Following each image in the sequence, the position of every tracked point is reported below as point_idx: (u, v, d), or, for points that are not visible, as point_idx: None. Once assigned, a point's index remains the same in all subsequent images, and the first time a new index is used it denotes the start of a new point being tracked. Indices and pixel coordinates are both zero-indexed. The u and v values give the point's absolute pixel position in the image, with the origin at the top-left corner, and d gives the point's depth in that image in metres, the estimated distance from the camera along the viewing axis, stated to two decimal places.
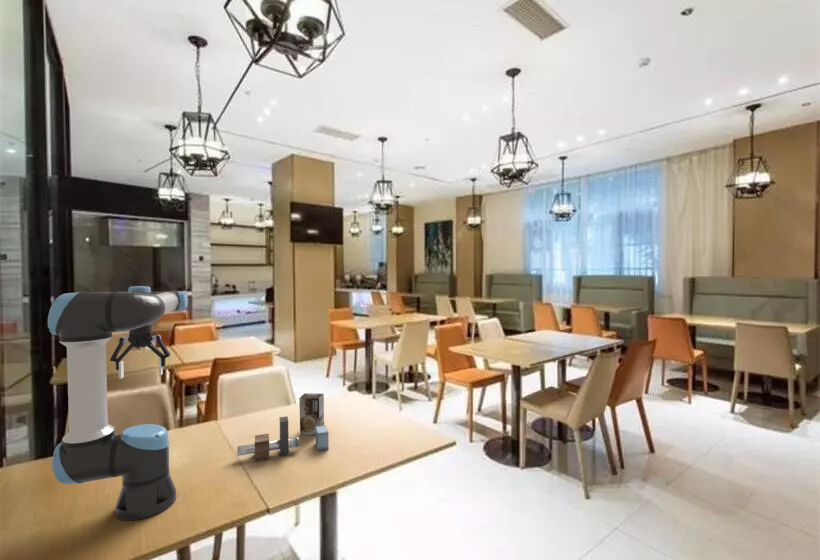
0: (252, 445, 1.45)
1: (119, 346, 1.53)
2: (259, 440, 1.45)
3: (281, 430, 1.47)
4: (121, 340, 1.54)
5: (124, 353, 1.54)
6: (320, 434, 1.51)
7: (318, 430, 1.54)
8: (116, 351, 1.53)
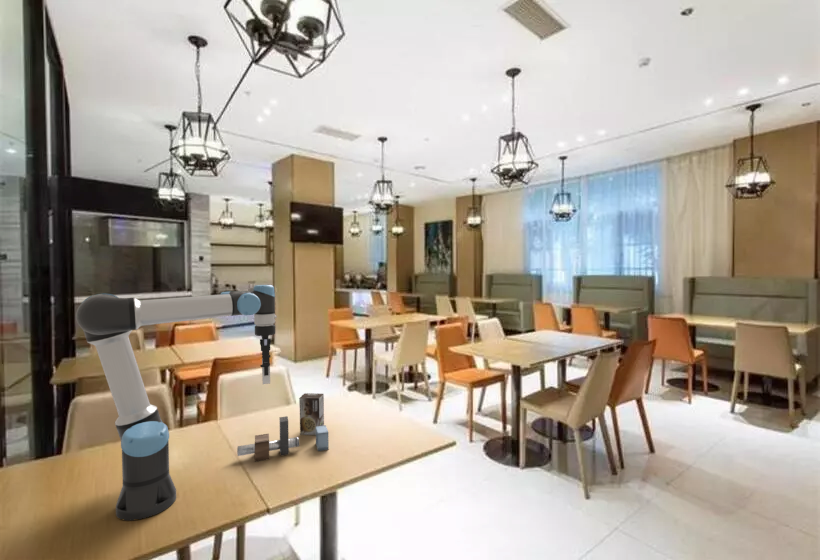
0: (252, 445, 1.45)
1: None
2: (259, 440, 1.45)
3: (281, 430, 1.47)
4: None
5: None
6: (320, 434, 1.51)
7: (318, 430, 1.54)
8: None
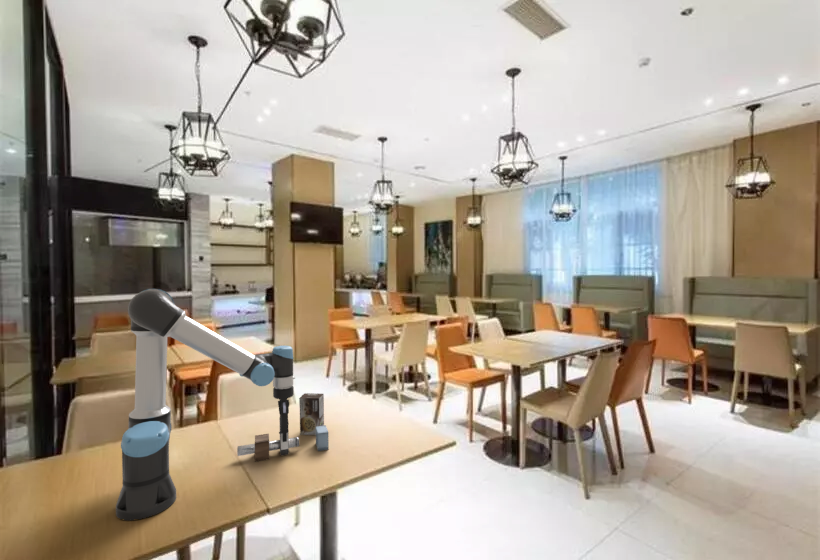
0: (252, 445, 1.45)
1: None
2: (259, 440, 1.45)
3: None
4: None
5: (280, 416, 1.52)
6: (320, 434, 1.51)
7: (318, 430, 1.54)
8: None
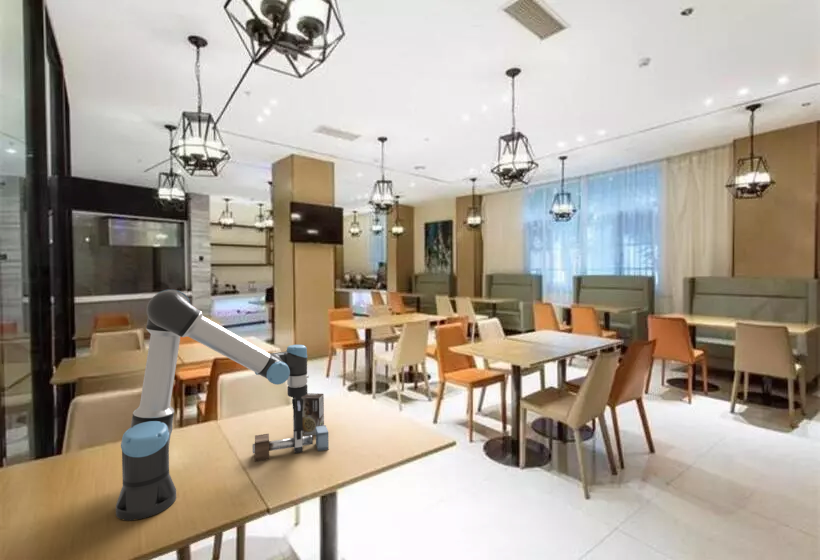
0: None
1: None
2: (259, 440, 1.45)
3: None
4: (293, 399, 1.56)
5: (294, 414, 1.54)
6: (320, 434, 1.51)
7: (318, 430, 1.54)
8: (293, 410, 1.56)
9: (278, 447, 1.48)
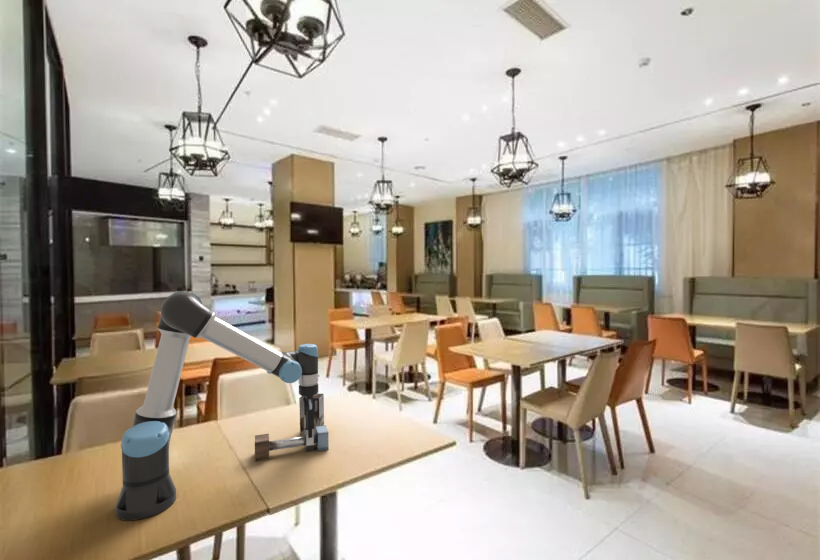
0: (279, 441, 1.49)
1: None
2: (259, 440, 1.45)
3: None
4: (304, 397, 1.58)
5: (305, 413, 1.55)
6: (320, 434, 1.51)
7: (318, 430, 1.54)
8: (304, 409, 1.58)
9: (290, 445, 1.49)
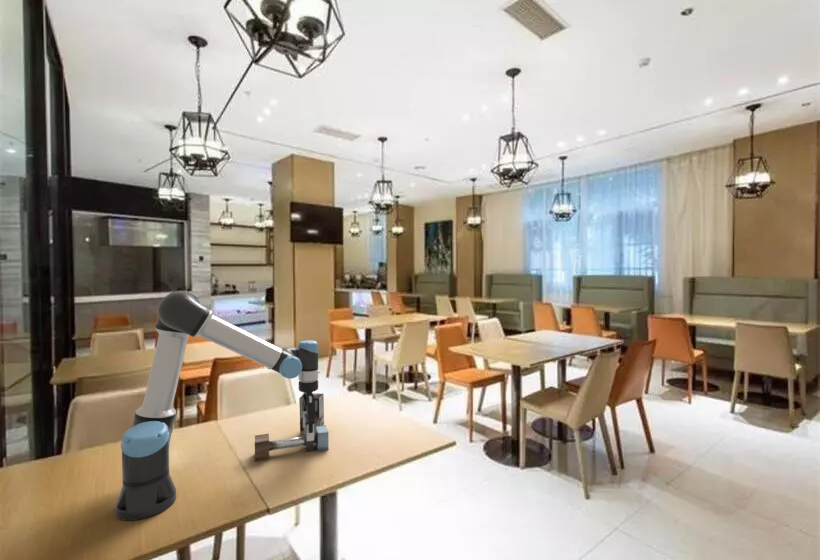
0: (279, 441, 1.49)
1: None
2: (259, 440, 1.45)
3: None
4: None
5: (304, 404, 1.57)
6: (320, 434, 1.51)
7: (318, 430, 1.54)
8: None
9: (290, 445, 1.49)
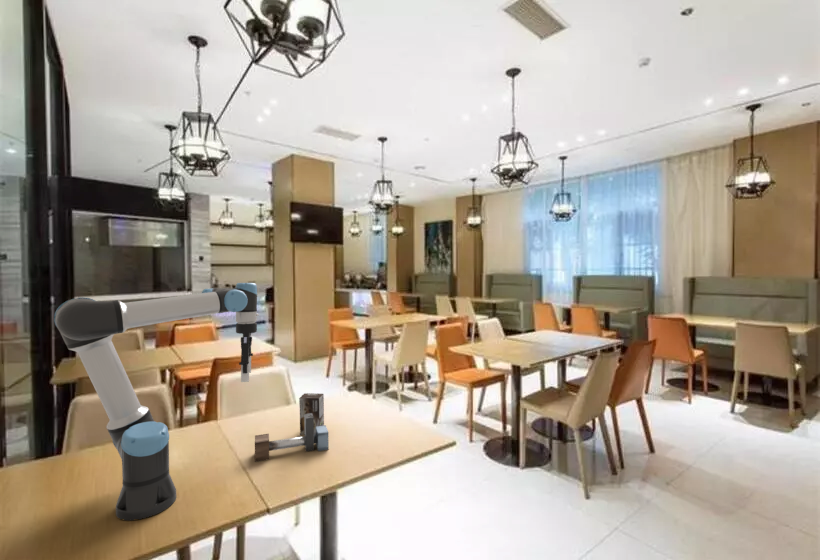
0: (279, 441, 1.49)
1: None
2: (259, 440, 1.45)
3: (307, 426, 1.51)
4: None
5: None
6: (320, 434, 1.51)
7: (318, 430, 1.54)
8: None
9: (290, 445, 1.49)
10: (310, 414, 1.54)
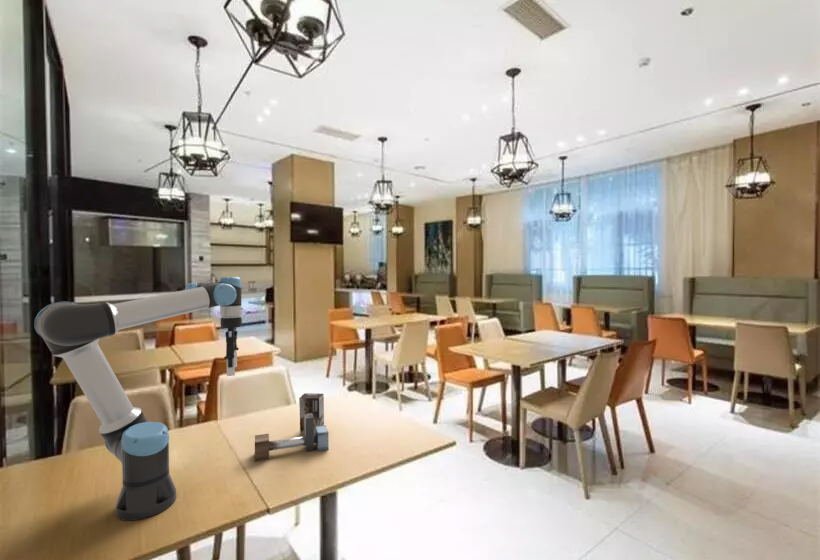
0: (279, 441, 1.49)
1: None
2: (259, 440, 1.45)
3: (307, 426, 1.51)
4: None
5: None
6: (320, 434, 1.51)
7: (318, 430, 1.54)
8: None
9: (290, 445, 1.49)
10: (310, 414, 1.54)
